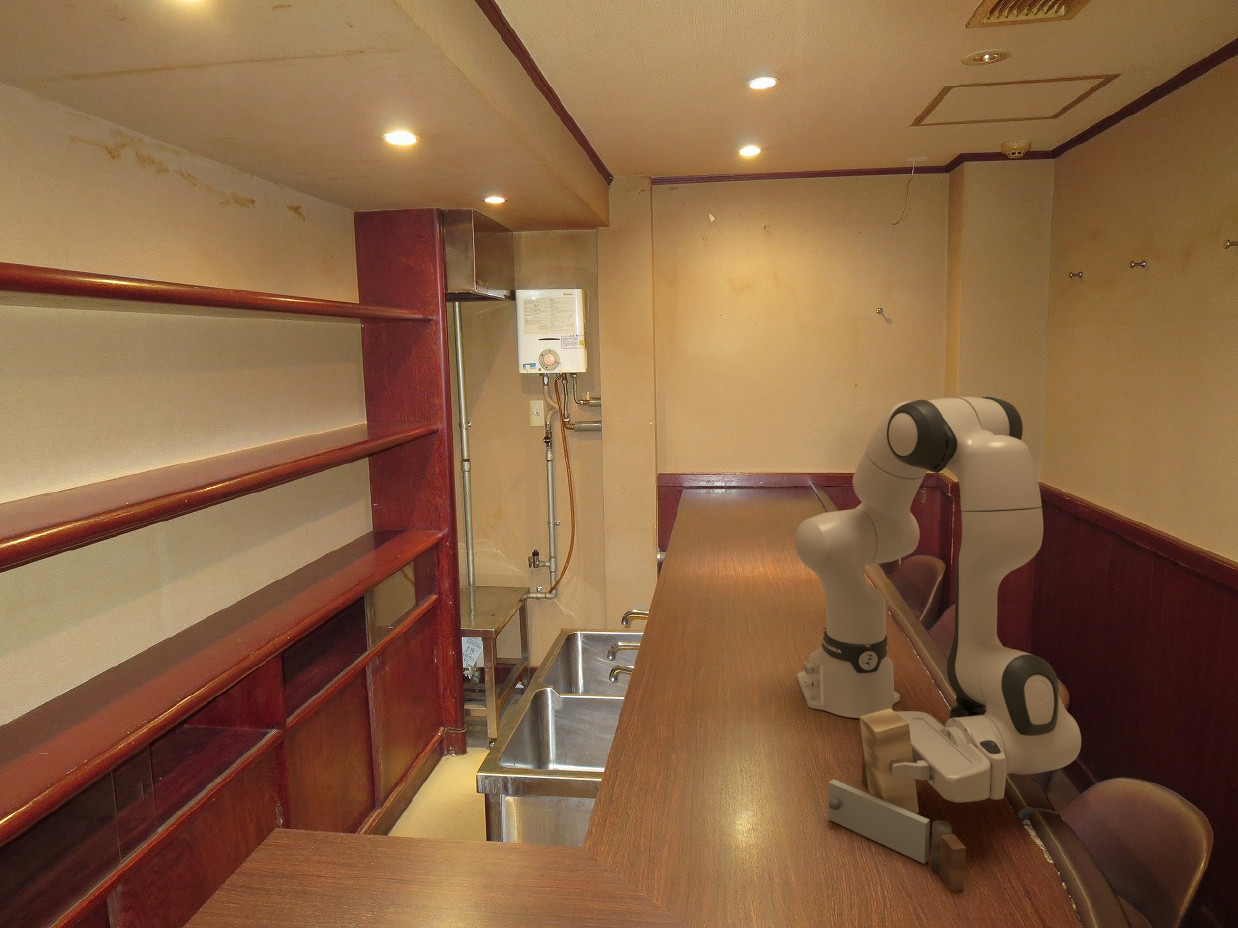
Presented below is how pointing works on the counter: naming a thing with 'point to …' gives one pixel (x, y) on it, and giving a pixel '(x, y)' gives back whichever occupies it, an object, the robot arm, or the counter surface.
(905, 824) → the gate
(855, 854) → the counter surface
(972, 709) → the supplement bottle
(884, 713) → the beech block
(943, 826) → the gate frame
